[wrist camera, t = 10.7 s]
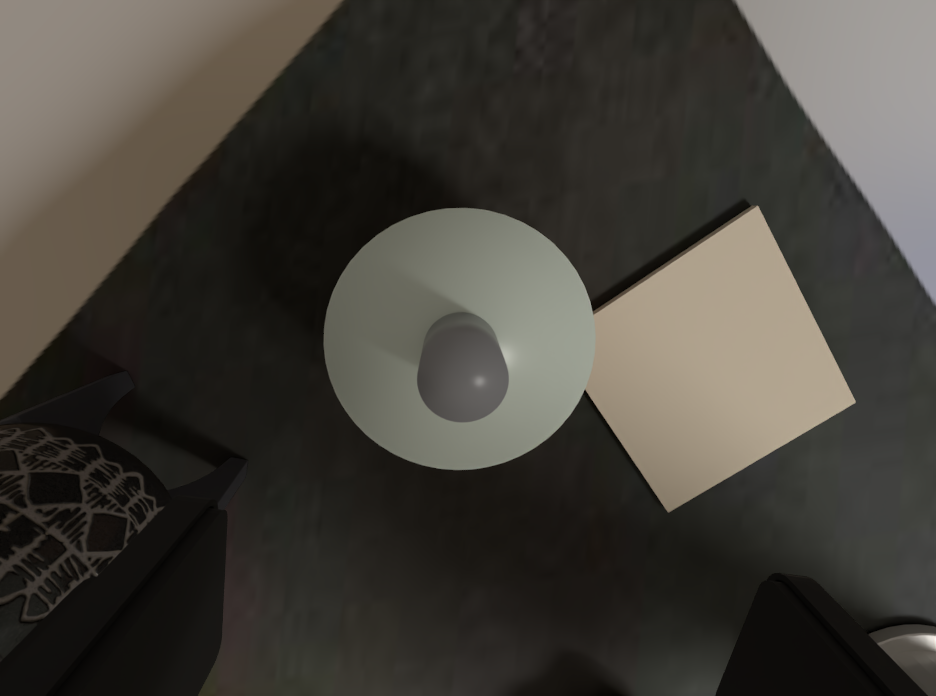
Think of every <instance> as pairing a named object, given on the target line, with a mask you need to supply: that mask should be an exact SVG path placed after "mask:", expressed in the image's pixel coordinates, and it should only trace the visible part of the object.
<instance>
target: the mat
mask: <svg viewBox="0 0 936 696" xmlns="http://www.w3.org/2000/svg"><path fill="white" fill-rule="evenodd" d="M593 316H594V322H595V334H596V341H595V355H594V360H593V366H592V371H591V374H590V377H589V380H588V383H587V386H586V388H585V390H586V392H587V393H588V395H589V396H590V398H591V399H592V401H593V402H594V404H595V405H596V407H597V408H598V410H599V411H600V412H601V414H602V415H603V417H604V418H605V420H606V421H607V423H608V424H609V426H610V427H611V429H612V430H613V432H614V433H615V435H616V436H617V438H618V439H619V441H620V442H621V444H622V445H623V447H624V448H625V450H626V451H627V453H628V454H629V455H630V457H631V458H632V460H633V461H634V463H635V464H636V466H637V467H638V469H639V470H640V472H641V473H642V475H643V476H644V478H645V479H646V481H647V482H648V484H649V485H650V487H651V488H652V490H653V491H654V493H655V494H656V496H657V497H658V498H659V500H660V501H661V503H662V504H663V506H664V507H665V509H666V510H667V512H668V513H669V512H670V511H672V510H674V509H675V508H677V507H679V506H681V505H682V504H684V503H686V502H687V501H689V500H691V499H692V498H694V497H696V496H698V495H699V494H701V493H703V492H704V491H706V490H708V489H709V488H711V487H713V486H715V485H716V484H718V483H720V482H721V481H723V480H725V479H726V478H728V477H730V476H732V475H733V474H735V473H737V472H738V471H740V470H742V469H743V468H745V467H747V466H749V465H750V464H752V463H754V462H755V461H757V460H759V459H760V458H762V457H764V456H766V455H767V454H769V453H771V452H772V451H774V450H776V449H777V448H779V447H781V446H783V445H784V444H786V443H788V442H789V441H791V440H793V439H794V438H796V437H798V436H800V435H801V434H803V433H805V432H806V431H808V430H810V429H812V428H813V427H815V426H817V425H818V424H820V423H822V422H823V421H825V420H827V419H829V418H830V417H832V416H834V415H835V414H837V413H839V412H840V411H842V410H844V409H846V408H847V407H849V406H851V405H852V404H854V403H856V401H855V399H854V397H853V395H852V393H851V391H850V389H849V387H848V385H847V383H846V381H845V379H844V377H843V375H842V373H841V371H840V369H839V367H838V365H837V363H836V361H835V359H834V357H833V355H832V353H831V351H830V349H829V347H828V345H827V343H826V341H825V339H824V337H823V335H822V333H821V331H820V329H819V327H818V325H817V323H816V321H815V319H814V317H813V315H812V313H811V311H810V309H809V307H808V305H807V303H806V301H805V299H804V297H803V295H802V293H801V291H800V289H799V287H798V285H797V283H796V281H795V279H794V277H793V275H792V273H791V271H790V269H789V267H788V265H787V263H786V261H785V259H784V257H783V255H782V253H781V251H780V249H779V247H778V245H777V243H776V241H775V239H774V237H773V235H772V233H771V231H770V229H769V227H768V225H767V223H766V221H765V219H764V217H763V215H762V213H761V211H760V209H759V207H758V206H751V207H749V208H748V209H746V210H745V211H743V212H742V213H740V214H739V215H737V216H736V217H734V218H733V219H731V220H730V221H728V222H727V223H725V224H724V225H722V226H721V227H719V228H718V229H716V230H715V231H713V232H712V233H710V234H709V235H707V236H706V237H704V238H703V239H701V240H700V241H698V242H697V243H695V244H694V245H692V246H691V247H689V248H688V249H686V250H685V251H683V252H682V253H680V254H679V255H677V256H676V257H674V258H673V259H671V260H670V261H668V262H667V263H665V264H664V265H662V266H661V267H659V268H658V269H656V270H655V271H653V272H652V273H650V274H649V275H647V276H646V277H644V278H643V279H641V280H640V281H638V282H637V283H635V284H634V285H632V286H631V287H629V288H628V289H626V290H625V291H623V292H622V293H620V294H619V295H617V296H616V297H614V298H613V299H611V300H610V301H608V302H607V303H605V304H604V305H602V306H601V307H599V308H598V309H596V310H595V311H593Z"/></svg>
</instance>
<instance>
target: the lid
mask: <svg viewBox="0 0 936 696" xmlns="http://www.w3.org/2000/svg"><path fill="white" fill-rule="evenodd" d="M595 341H596V334H595V322H594V316H593V311H592V307H591V302H590V300H589V297H588V294H587V292H586V289H585V286H584V284H583V282H582V281H581V279H580V277H579V275H578V273H577V271H576V270H575V268H574V267H573V266H572V264H571V263H570V261H569V260H568V259H567V257H566V256H565V255H564V254H563V253H562V252H561V251H560V250H559V249H558V248H557V247H556V246H555V245H554V244H553V243H552V242H551V241H550V240H549V239H547V238H546V237H545V236H543V235H542V234H541V233H540V232H538V231H537V230H535V229H533V228H531V227H530V226H528V225H526V224H525V223H523V222H521V221H518V220H516V219H513V218H511V217H508V216H506V215H503V214H499V213H495V212H491V211H488V210H481V209H472V208H446V209H440V210H434V211H428V212H425V213H421V214H418V215H415V216H412V217H409V218H407V219H405V220H402V221H400V222H398V223H396V224H394V225H392V226H390V227H389V228H387V229H386V230H384V231H383V232H381V233H379V234H378V235H376V236H375V237H374V238H373V239H372V240H371V241H369V242H368V243H367V244H366V245H365V246H364V247H362V249H361V250H360V251H359V252H358V253H357V254H356V255H355V256H354V258H353V259H352V260H351V261H350V262H349V264H348V265H347V267H346V268H345V270H344V271H343V273H342V274H341V276H340V278H339V280H338V282H337V284H336V286H335V288H334V290H333V293H332V296H331V299H330V302H329V305H328V308H327V313H326V319H325V325H324V353H325V362H326V366H327V370H328V374H329V378H330V381H331V383H332V386H333V388H334V391H335V393H336V395H337V397H338V399H339V401H340V402H341V404H342V406H343V408H344V409H345V411H346V412H347V413H348V415H349V416H350V418H351V419H352V420H353V422H354V423H355V424H356V425H357V426H358V427H359V428H360V429H361V430H362V431H363V432H364V433H365V434H366V435H367V436H368V437H370V438H371V439H372V440H373V441H375V442H376V443H377V444H378V445H380V446H381V447H383V448H385V449H386V450H388V451H389V452H391V453H393V454H395V455H397V456H399V457H401V458H404V459H406V460H408V461H411V462H414V463H417V464H420V465H423V466H428V467H433V468H438V469H449V470H472V469H479V468H485V467H490V466H494V465H497V464H501V463H505V462H507V461H510V460H512V459H514V458H517V457H519V456H521V455H523V454H525V453H527V452H528V451H530V450H532V449H534V448H535V447H537V446H538V445H539V444H541V443H542V442H544V441H545V440H546V439H548V438H549V437H550V436H551V435H552V434H553V433H554V432H555V431H556V430H557V429H558V428H560V426H561V425H562V424H563V423H564V422H565V420H566V419H567V418H568V417H569V416H570V414H571V413H572V411H573V410H574V408H575V407H576V405H577V404H578V402H579V400H580V398H581V396H582V394H583V392H584V390H585V388H586V386H587V383H588V380H589V377H590V374H591V371H592V366H593V360H594V355H595Z"/></svg>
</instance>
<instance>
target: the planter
mask: <svg viewBox="0 0 936 696" xmlns="http://www.w3.org/2000/svg"><path fill="white" fill-rule="evenodd" d="M134 387H135V385H134V383H133V382H132V380H131V378H130V376H129V374H128V372H127V371H123V372H119V373H116V374H113V375H109V376H107V377H104V378H102V379H99V380H97V381H94V382H92V383H90V384H87V385H85V386H82V387H80V388H77V389H75V390H72V391H70V392H68V393H65V394H63V395H60V396H58V397H55V398H53V399H51V400H48V401H46V402H43V403H41V404H38V405H36V406H33V407H31V408H29V409H26V410H24V411H21V412H19V413H16V414H14V415H12V416H9V417H7V418H4V419H2V420H0V662H1V661H2V660H3V659H4V658H5V657H6V656H7V655H8V654H9V653H10V652H11V651H12V650H13V649H14V648H15V647H16V646H17V645H18V644H19V643H20V642H21V641H22V640H23V639H24V638H25V637H26V636H27V635H28V634H29V633H30V632H31V631H32V630H33V629H34V628H35V627H36V626H37V625H38V624H39V623H40V622H41V621H42V620H43V619H44V618H45V617H46V616H47V615H48V614H49V613H50V612H51V611H52V610H53V609H54V608H55V607H56V606H57V605H58V604H59V603H60V602H61V601H62V600H63V599H64V598H65V597H66V596H67V595H68V594H69V593H70V592H71V591H72V590H73V589H74V588H75V587H76V586H78V585H79V584H80V583H81V582H82V581H84V580H85V579H88V578H90V577H93V576H96V577H97V576H98V575H99V574H100V573H101V572H102V571H103V570H104V569H105V568H106V567H107V565H108V564H109V563H110V562H111V561H112V560H113V559H114V558H115V557H116V556H117V555H118V554H119V553H120V552H121V551H122V550H123V549H124V548H125V547H126V546H127V545H128V544H129V543H130V542H131V541H132V540H133V539H134V538H135V537H136V536H137V535H138V534H139V533H140V532H141V531H142V530H143V528H144V527H145V526H146V525H147V524H148V523H149V522H150V521H151V520H152V519H153V518H154V517H155V516H156V515H157V514H158V513H159V512H160V511H161V510H162V509H163V508H164V507H165V506H166V505H167V504H168V503H169V502H170V501H171V500H172V499H173V498H174V497H175V496H177V495H186V496H194V497H201V498H209V499H214V500H216V501H217V504H218V509H220V510H224V509H225V507H226V506H227V504H228V503H229V501H230V500H231V498H232V497H233V495H234V494H235V492H236V491H237V489H238V488H239V486H240V485H241V483H242V482H243V481H244V479H245V478H246V472H247V465H248V460H244V459H239V458H234V457H231V458H229V459H228V460H227V461H226V462H224V463H223V464H222V465H221V466H220V467H218V468H217V469H216V470H214V471H213V472H211V473H210V474H208V475H206V476H204V477H202V478H201V479H199V480H197V481H194V482H192V483H190V484H187V485H184V486H181V487H178V488H175V489H171V490H166V488H165V486H164V485H163V483H162V482H161V481H160V480H159V479H158V478H157V477H156V475H155V474H154V473H153V472H152V471H151V470H150V469H149V468H148V467H147V466H146V465H145V464H143V463H142V462H141V461H140V460H139V459H138V458H137V457H135V456H134V455H132V454H131V453H129V452H128V451H126V450H125V449H123V448H122V447H120V446H119V445H117V444H115V443H113V442H111V441H109V440H107V439H105V438H103V437H101V436H99V432H100V429H101V426H102V424H103V422H104V420H105V418H106V416H107V415H108V413H109V412H110V410H111V409H112V407H113V406H114V405H115V404H116V403H117V401H118V400H119V399H121V398H122V397H123V396H124V395H125V394H127V393H128V392H129V391H130V390H132V389H133V388H134Z"/></svg>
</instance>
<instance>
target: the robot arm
mask: <svg viewBox="0 0 936 696" xmlns="http://www.w3.org/2000/svg"><path fill="white" fill-rule="evenodd" d="M226 538H227V512H226V511H225V510H220V509H218V504H217V501H216V500H214V499H209V498H201V497H194V496H186V495H177V496H175V497H174V498H173V499H172V500H171V501H170V502H169V503H168V504H167V505H166V506H165V507H164V508H163V509H162V510H161V511H160V512H159V513H158V514H157V515H156V516H155V517H154V518H153V519H152V520H151V521H150V522H149V523H148V524H147V525H146V526H145V527H144V528H143V530H142V531H141V532H140V533H139V534H138V535H137V536H136V537H135V538H134V539H133V540H132V541H131V542H130V543H129V544H128V545H127V546H126V547H125V548H124V549H123V550H122V551H121V552H120V553H119V554H118V555H117V556H116V557H115V558H114V559H113V560H112V561H111V562H110V563H109V564H108V565H107V567H106V568H105V569H104V570H103V571H102V572H101V573H100V574H99V575H98V576H97V577H96V576H93V577H90V578H88V579H85V580H84V581H82V582H81V583H80V584H79V585H78V586H76V587H75V588H74V589H73V590H72V591H71V592H70V593H69V594H68V595H67V596H66V597H65V598H64V599H63V600H62V601H61V602H60V603H59V604H58V605H57V606H56V607H55V608H54V609H53V610H52V611H51V612H50V613H49V614H48V615H47V616H46V617H45V618H44V619H43V620H42V621H41V622H40V623H39V624H38V625H37V626H36V627H35V628H34V629H33V630H32V631H31V632H30V633H29V634H28V635H27V636H26V637H25V638H24V639H23V640H22V641H21V642H20V643H19V644H18V645H17V646H16V647H15V648H14V649H13V650H12V651H11V652H10V653H9V654H8V655H7V656H6V657H5V658H4V659H3V660H2V661H1V662H0V696H198V694H199V692H200V690H201V688H202V686H203V684H204V682H205V680H206V679H207V677H208V675H209V673H210V671H211V669H212V667H213V665H214V663H215V661H216V658H217V655H218V652H219V649H220V645H221V639H222V621H223V601H224V580H225V559H226ZM716 696H936V627H934V626H927V625H921V624H910V625H898V626H892V627H887V628H884V629H881V630H878V631H875V632H872V633H870V634H867V633H866V632H865V631H864V630H863V629H862V628H861V627H860V626H859V625H858V624H857V623H856V622H855V621H854V620H853V619H852V618H851V617H850V616H849V615H848V613H847V612H846V611H845V610H844V609H843V608H842V607H841V606H840V605H839V604H838V603H837V602H836V601H835V600H834V599H833V598H832V597H831V596H830V595H829V594H828V593H827V592H826V591H825V590H824V589H823V588H822V587H821V586H820V585H819V584H818V583H817V582H816V581H814V580H813V579H811V578H809V577H805V576H797V575H790V574H782V573H774V574H772V575H771V576H769V577H768V579H767V581H764V582H762V583H761V584H760V586H759V588H758V591H757V593H756V596H755V598H754V601H753V603H752V605H751V608H750V610H749V613H748V615H747V618H746V620H745V623H744V625H743V628H742V630H741V633H740V635H739V637H738V640H737V642H736V645H735V647H734V650H733V652H732V655H731V657H730V660H729V662H728V665H727V667H726V670H725V672H724V674H723V677H722V679H721V682H720V684H719V687H718V689H717V692H716Z"/></svg>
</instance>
